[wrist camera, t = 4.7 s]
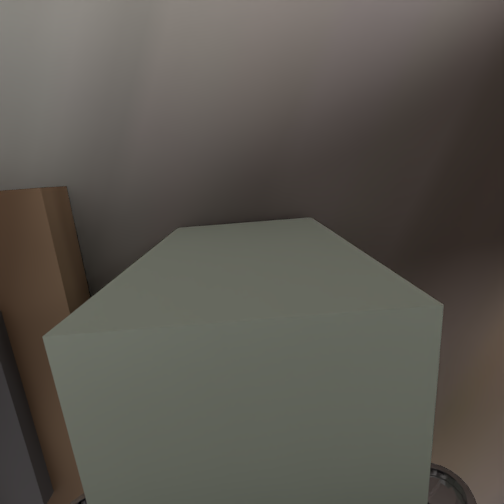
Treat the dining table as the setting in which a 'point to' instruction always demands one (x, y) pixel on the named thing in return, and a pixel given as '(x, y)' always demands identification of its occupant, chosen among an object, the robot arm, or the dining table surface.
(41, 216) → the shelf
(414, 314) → the pale green block
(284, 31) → the dining table surface
